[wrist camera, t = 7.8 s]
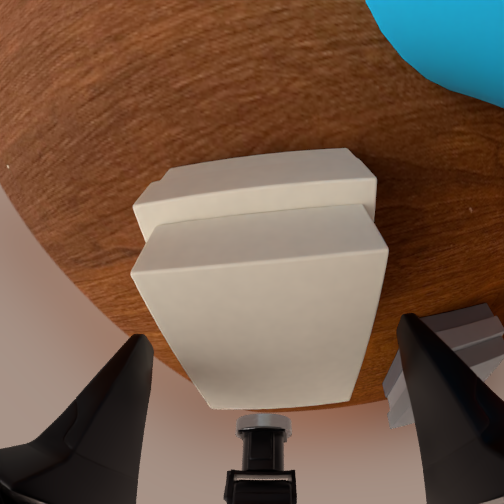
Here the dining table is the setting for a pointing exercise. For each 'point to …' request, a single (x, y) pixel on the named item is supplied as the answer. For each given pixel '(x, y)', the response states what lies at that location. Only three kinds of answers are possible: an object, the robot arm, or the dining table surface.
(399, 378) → the grey pile
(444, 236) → the dining table surface
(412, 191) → the dining table surface
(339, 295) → the white block
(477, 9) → the mug
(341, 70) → the dining table surface
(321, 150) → the white pile
